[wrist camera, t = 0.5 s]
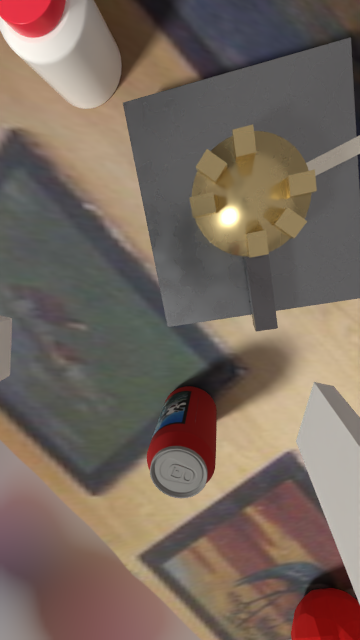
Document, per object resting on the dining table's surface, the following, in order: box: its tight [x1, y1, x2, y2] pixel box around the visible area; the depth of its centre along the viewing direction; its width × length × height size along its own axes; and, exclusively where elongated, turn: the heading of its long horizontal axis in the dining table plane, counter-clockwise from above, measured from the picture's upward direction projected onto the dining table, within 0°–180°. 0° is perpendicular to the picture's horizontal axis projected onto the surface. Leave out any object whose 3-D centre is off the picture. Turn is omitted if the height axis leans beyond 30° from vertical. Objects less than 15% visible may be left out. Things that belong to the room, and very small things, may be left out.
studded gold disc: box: [190, 125, 317, 331], centre depth 27 cm, size 17×10×4 cm, turn 11°
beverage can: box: [147, 386, 216, 498], centre depth 33 cm, size 7×7×12 cm
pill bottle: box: [0, 0, 122, 109], centre depth 26 cm, size 8×8×11 cm
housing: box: [123, 37, 360, 327], centre depth 31 cm, size 22×21×4 cm
